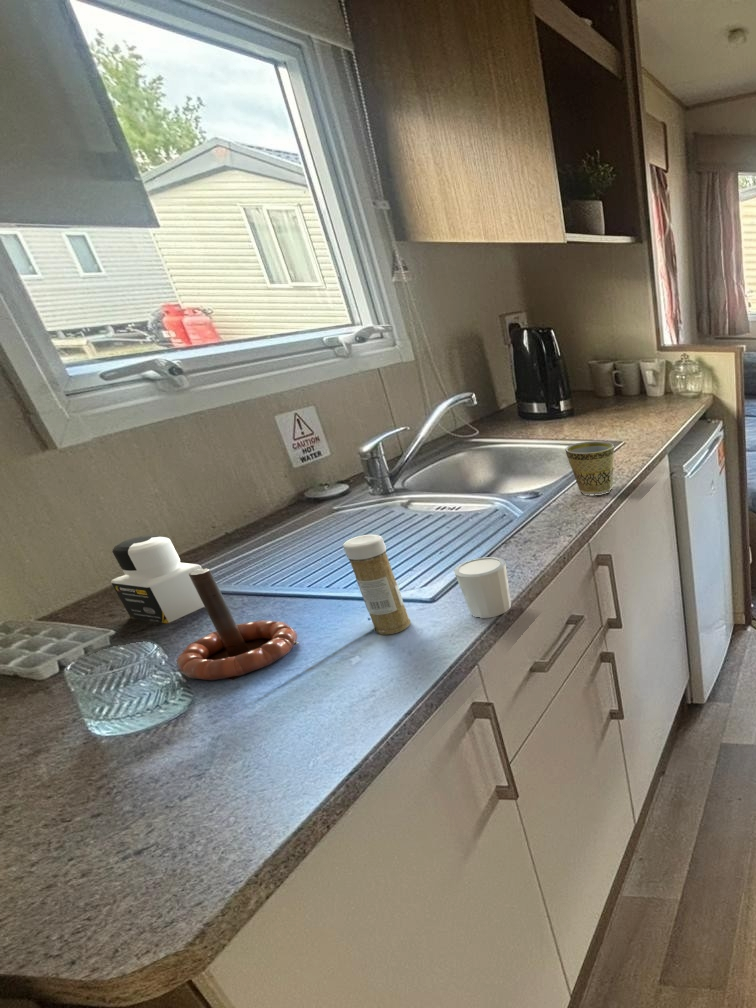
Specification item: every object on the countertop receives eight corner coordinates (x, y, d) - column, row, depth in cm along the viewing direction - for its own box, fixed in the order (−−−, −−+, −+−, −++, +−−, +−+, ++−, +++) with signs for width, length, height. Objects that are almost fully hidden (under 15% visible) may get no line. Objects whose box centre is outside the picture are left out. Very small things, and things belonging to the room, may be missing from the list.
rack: (180, 678, 82) (129, 584, 76) (249, 641, 90) (207, 553, 83) (237, 687, 80) (189, 591, 74) (302, 649, 88) (264, 559, 81)
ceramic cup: (614, 498, 140) (607, 452, 136) (567, 499, 140) (558, 453, 136) (627, 480, 152) (621, 437, 147) (584, 481, 152) (576, 438, 147)
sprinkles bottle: (417, 619, 94) (389, 533, 88) (400, 636, 90) (369, 546, 84) (386, 620, 94) (355, 533, 88) (367, 636, 90) (333, 546, 84)
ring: (157, 679, 80) (148, 662, 78) (243, 630, 90) (236, 615, 89) (242, 686, 78) (234, 670, 77) (320, 636, 88) (314, 620, 87)
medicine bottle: (133, 624, 94) (90, 548, 88) (185, 602, 100) (147, 528, 94) (171, 630, 92) (129, 552, 87) (221, 606, 99) (185, 532, 93)
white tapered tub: (467, 602, 99) (455, 560, 96) (515, 594, 101) (505, 553, 98) (464, 623, 93) (451, 579, 90) (515, 615, 95) (504, 571, 92)
